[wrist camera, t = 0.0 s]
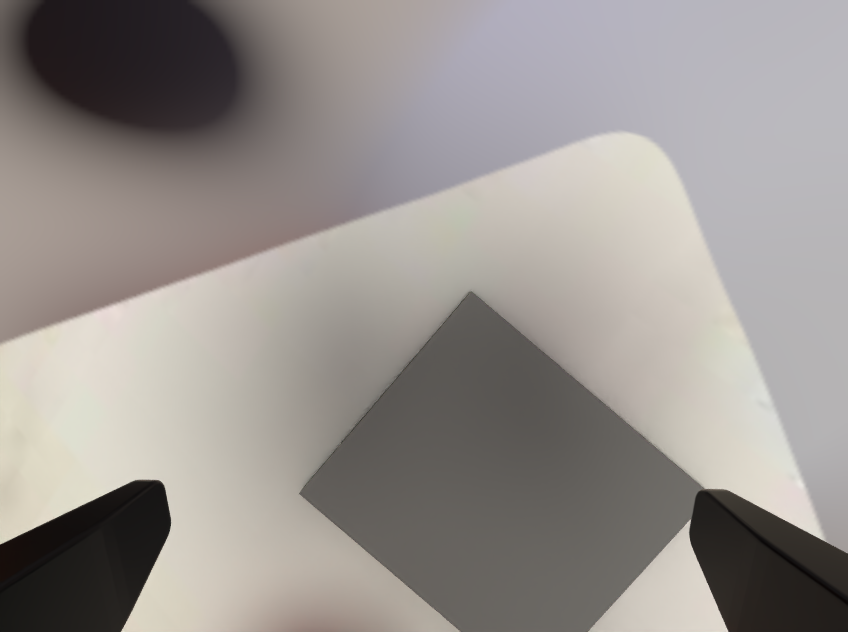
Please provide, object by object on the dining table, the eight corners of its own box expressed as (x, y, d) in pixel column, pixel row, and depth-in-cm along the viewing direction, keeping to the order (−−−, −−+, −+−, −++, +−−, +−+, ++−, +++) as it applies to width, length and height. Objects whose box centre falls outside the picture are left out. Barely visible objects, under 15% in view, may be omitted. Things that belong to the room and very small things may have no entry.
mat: (529, 682, 24) (532, 692, 23) (302, 488, 24) (299, 493, 23) (705, 490, 23) (711, 495, 23) (470, 291, 23) (471, 291, 23)
